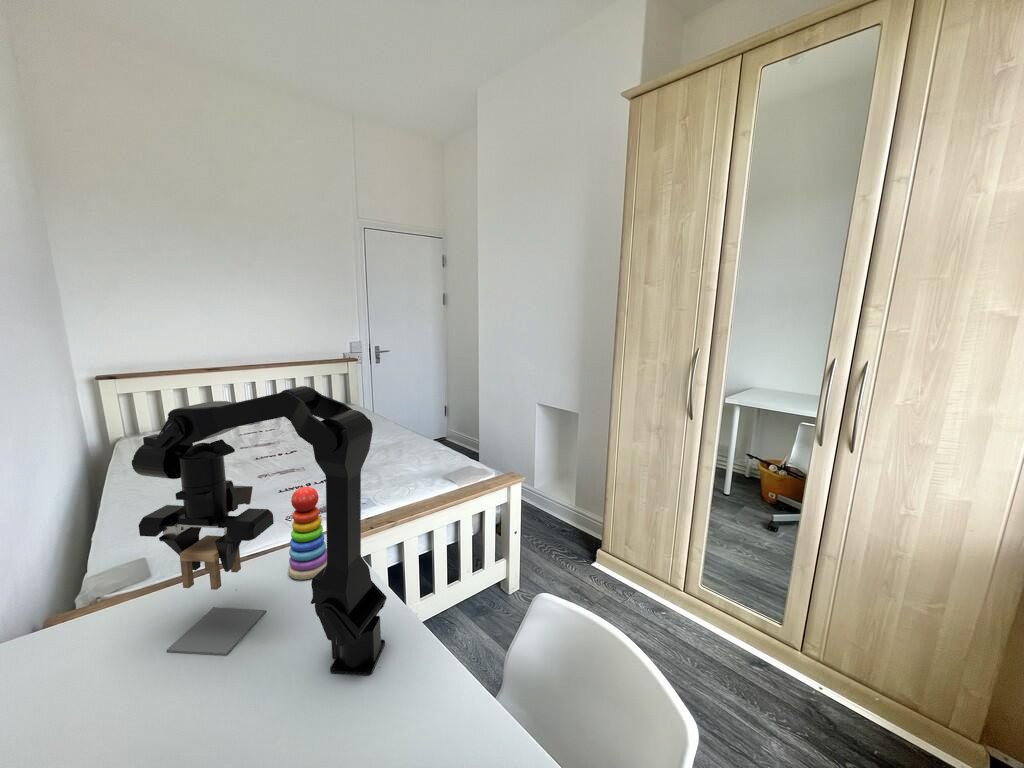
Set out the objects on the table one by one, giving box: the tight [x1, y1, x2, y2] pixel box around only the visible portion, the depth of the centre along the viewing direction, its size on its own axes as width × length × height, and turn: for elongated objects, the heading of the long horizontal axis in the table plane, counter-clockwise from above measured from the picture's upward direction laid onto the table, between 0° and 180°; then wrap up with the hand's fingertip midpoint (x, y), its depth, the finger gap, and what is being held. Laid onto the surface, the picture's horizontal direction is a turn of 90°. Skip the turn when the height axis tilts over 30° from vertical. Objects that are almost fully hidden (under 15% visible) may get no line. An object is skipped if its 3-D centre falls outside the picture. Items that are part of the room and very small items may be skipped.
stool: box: [179, 535, 242, 591], centre depth 69 cm, size 6×6×6 cm
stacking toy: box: [287, 486, 327, 581], centre depth 87 cm, size 8×8×19 cm
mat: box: [165, 606, 267, 657], centre depth 71 cm, size 10×10×1 cm
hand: (212, 569), depth 69 cm, fingers closed on stool, 5 cm apart
